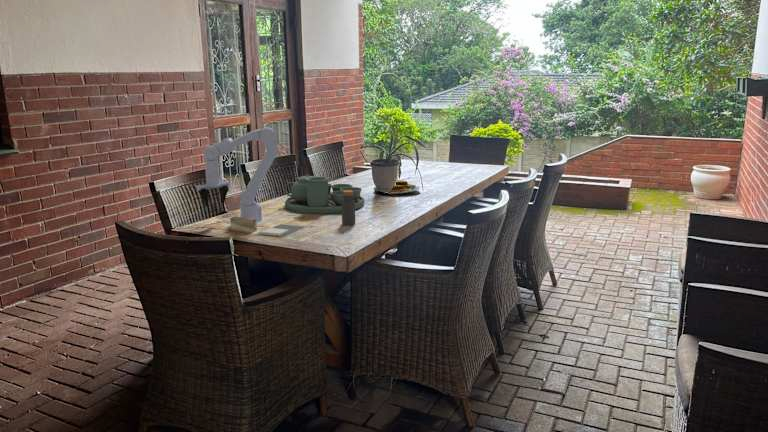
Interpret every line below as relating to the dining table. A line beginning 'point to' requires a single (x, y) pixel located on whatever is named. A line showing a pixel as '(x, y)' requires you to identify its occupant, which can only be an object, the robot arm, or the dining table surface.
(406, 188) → the food on plate
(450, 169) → the dining table surface
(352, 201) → the bottle
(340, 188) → the tea set
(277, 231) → the tile
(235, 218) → the beige rectangular block
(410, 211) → the dining table surface
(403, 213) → the dining table surface
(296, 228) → the mat
